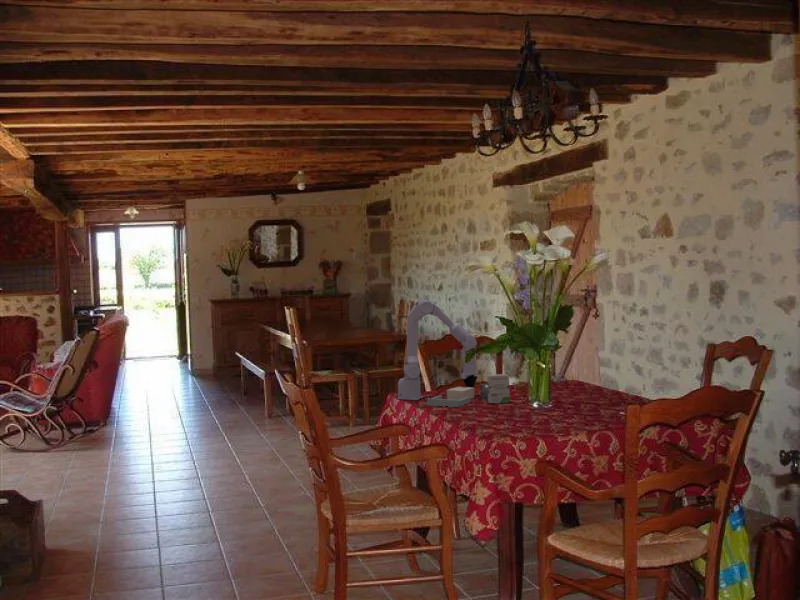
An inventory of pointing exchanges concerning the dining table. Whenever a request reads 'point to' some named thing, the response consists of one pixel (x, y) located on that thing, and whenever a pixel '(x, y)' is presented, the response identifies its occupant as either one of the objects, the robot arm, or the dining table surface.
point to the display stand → (446, 402)
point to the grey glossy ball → (484, 391)
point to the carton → (460, 393)
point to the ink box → (498, 388)
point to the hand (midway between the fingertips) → (470, 392)
